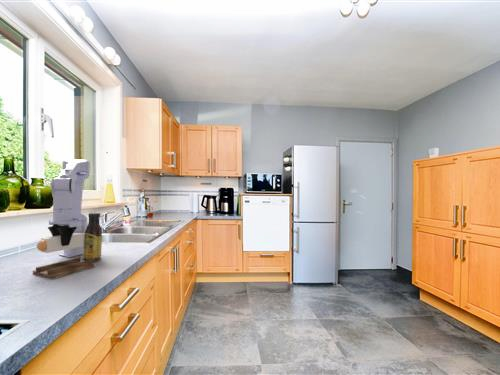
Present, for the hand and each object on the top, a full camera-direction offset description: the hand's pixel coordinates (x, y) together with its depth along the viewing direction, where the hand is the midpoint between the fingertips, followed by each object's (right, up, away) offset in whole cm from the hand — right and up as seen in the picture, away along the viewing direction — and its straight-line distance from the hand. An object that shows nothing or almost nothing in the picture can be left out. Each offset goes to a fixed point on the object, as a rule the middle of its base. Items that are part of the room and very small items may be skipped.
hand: (62, 244), depth 90 cm
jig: (+4, -9, -3) cm, 10 cm away
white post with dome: (0, -2, -1) cm, 2 cm away
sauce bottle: (+6, -9, +9) cm, 14 cm away
